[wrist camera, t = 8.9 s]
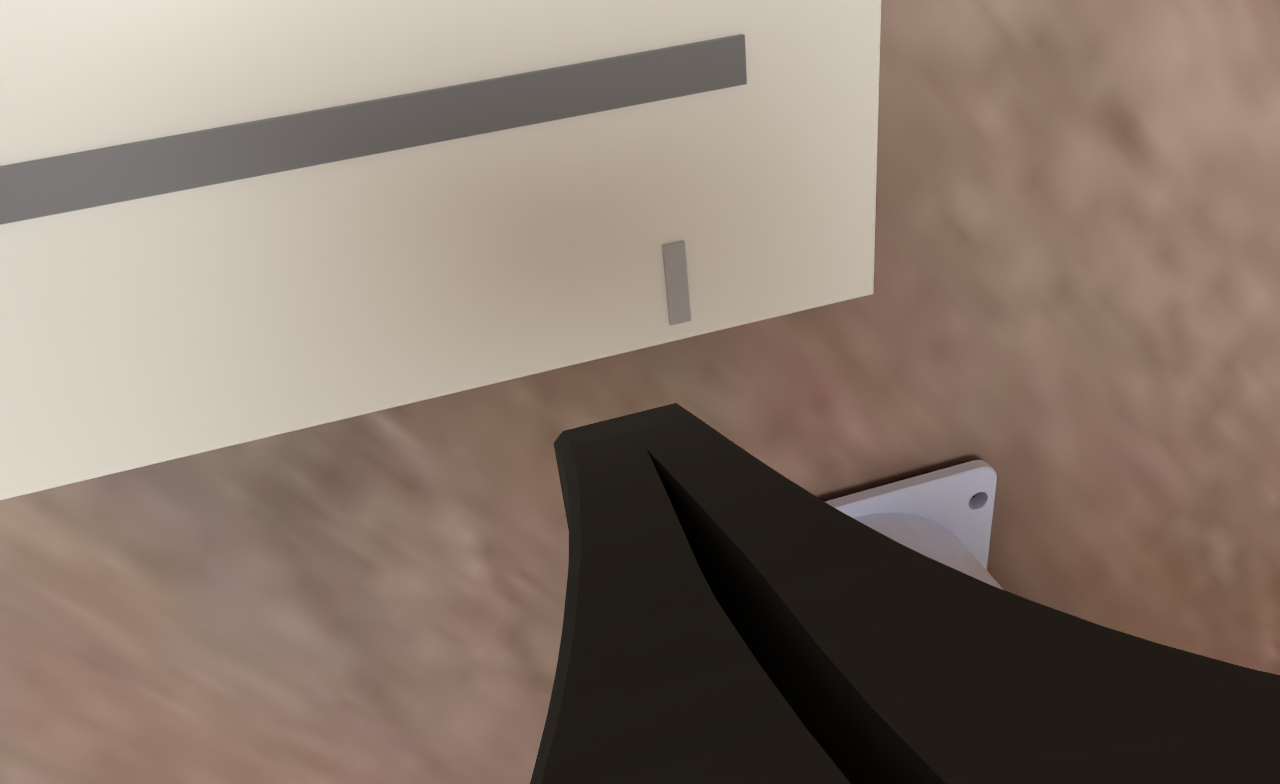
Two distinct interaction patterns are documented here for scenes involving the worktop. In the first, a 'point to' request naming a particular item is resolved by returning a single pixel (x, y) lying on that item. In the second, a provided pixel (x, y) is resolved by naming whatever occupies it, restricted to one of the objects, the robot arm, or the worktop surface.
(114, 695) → the worktop surface
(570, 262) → the mixer panel
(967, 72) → the worktop surface
